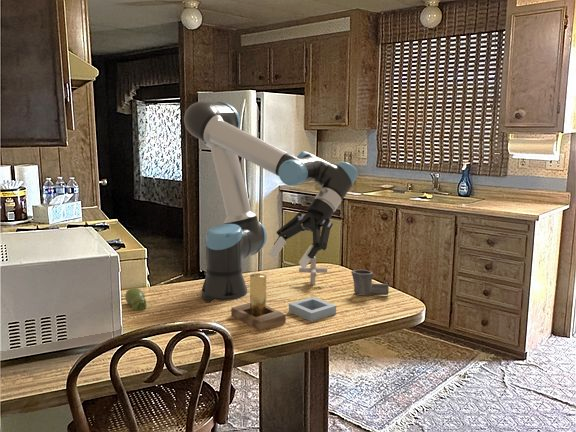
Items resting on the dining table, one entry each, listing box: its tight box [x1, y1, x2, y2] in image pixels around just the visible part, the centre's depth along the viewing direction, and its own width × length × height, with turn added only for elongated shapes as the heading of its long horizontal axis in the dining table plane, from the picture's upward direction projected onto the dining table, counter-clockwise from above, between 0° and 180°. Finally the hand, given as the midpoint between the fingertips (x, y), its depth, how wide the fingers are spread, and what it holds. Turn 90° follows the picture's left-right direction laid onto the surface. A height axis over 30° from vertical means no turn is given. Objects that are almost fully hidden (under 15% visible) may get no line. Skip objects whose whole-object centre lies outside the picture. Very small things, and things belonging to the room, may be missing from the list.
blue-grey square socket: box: [288, 296, 337, 322], centre depth 161 cm, size 10×10×4 cm
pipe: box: [351, 269, 390, 296], centre depth 182 cm, size 6×13×8 cm, turn 79°
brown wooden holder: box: [230, 302, 287, 332], centre depth 156 cm, size 14×9×4 cm, turn 40°
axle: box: [249, 273, 267, 317], centre depth 154 cm, size 5×5×13 cm
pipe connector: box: [298, 255, 328, 286], centre depth 193 cm, size 10×10×10 cm
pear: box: [124, 287, 148, 312], centre depth 168 cm, size 6×5×10 cm
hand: (285, 260), depth 159 cm, fingers open, 13 cm apart
